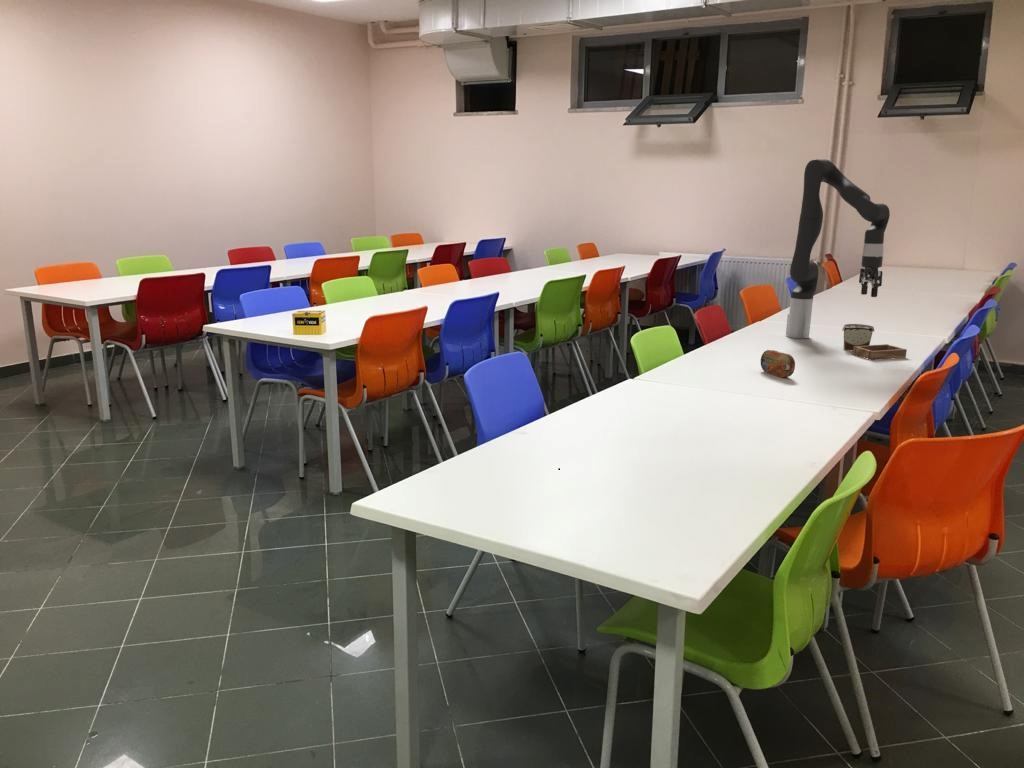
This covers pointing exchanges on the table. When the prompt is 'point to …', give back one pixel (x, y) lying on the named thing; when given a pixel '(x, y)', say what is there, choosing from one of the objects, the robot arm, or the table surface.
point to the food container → (857, 335)
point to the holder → (879, 351)
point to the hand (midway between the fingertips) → (868, 295)
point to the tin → (777, 363)
